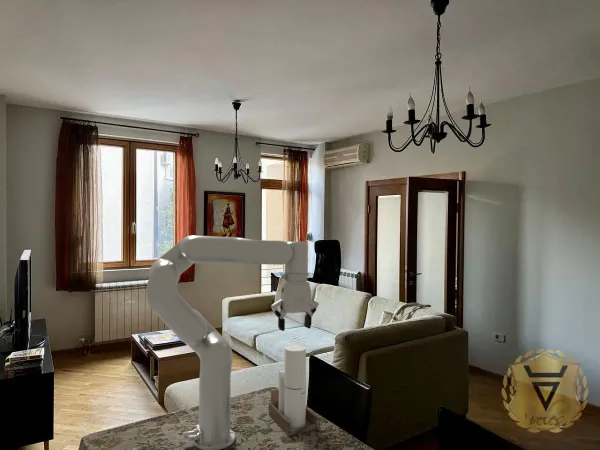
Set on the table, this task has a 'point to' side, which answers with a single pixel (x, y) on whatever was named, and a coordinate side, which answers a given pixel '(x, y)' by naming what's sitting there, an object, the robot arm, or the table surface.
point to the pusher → (281, 390)
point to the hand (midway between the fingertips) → (294, 328)
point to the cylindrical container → (295, 385)
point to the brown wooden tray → (284, 422)
